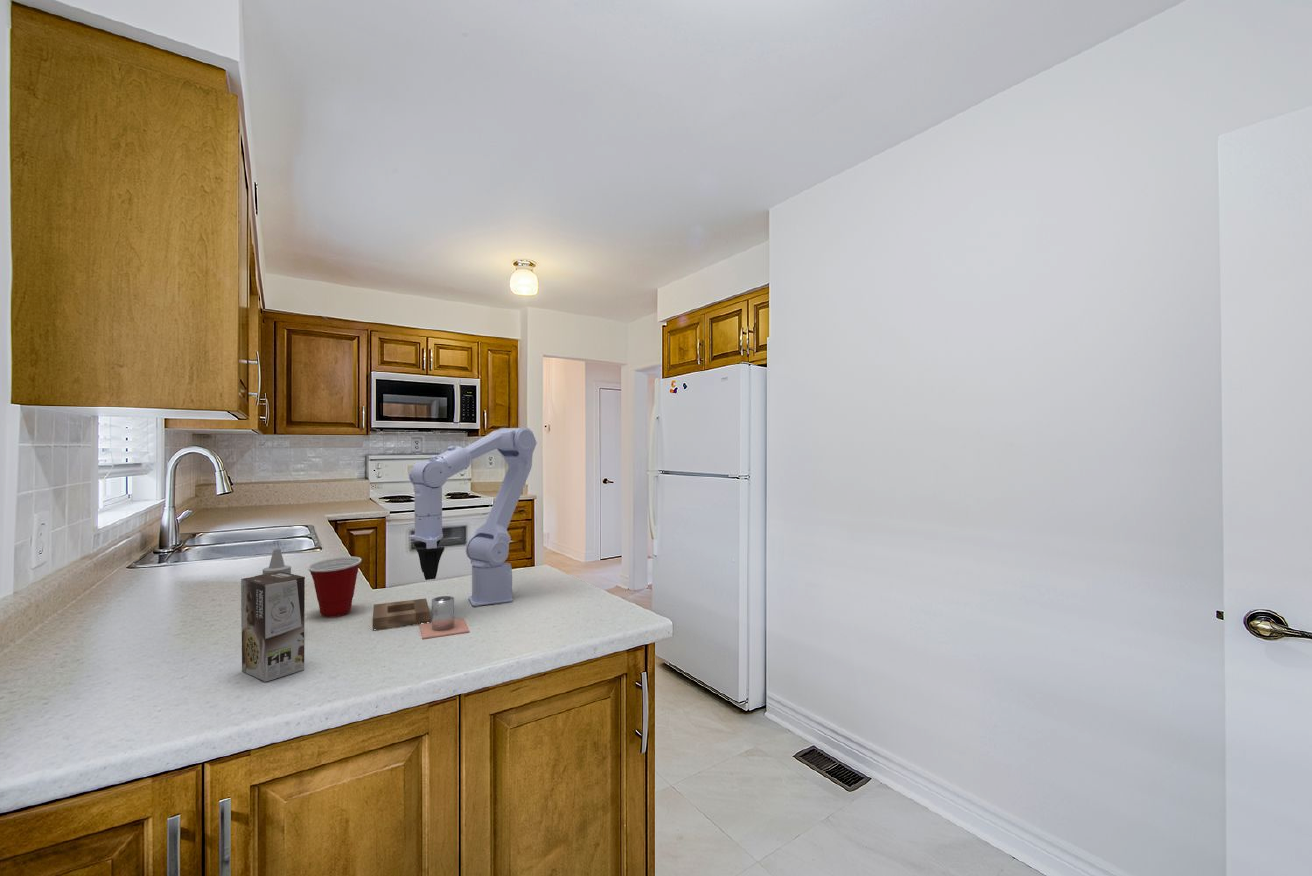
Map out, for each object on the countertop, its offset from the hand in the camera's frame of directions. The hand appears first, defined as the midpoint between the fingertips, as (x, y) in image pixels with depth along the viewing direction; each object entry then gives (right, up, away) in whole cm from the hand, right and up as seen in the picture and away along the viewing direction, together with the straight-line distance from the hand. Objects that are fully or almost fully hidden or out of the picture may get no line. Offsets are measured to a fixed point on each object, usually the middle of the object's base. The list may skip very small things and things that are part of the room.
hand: (428, 575), depth 124 cm
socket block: (-6, -9, -1) cm, 11 cm away
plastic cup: (-23, -10, +3) cm, 25 cm away
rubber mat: (+6, -9, -8) cm, 14 cm away
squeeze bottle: (-24, -10, -14) cm, 30 cm away
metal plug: (+6, -9, -8) cm, 14 cm away
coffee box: (-15, -10, -28) cm, 34 cm away
